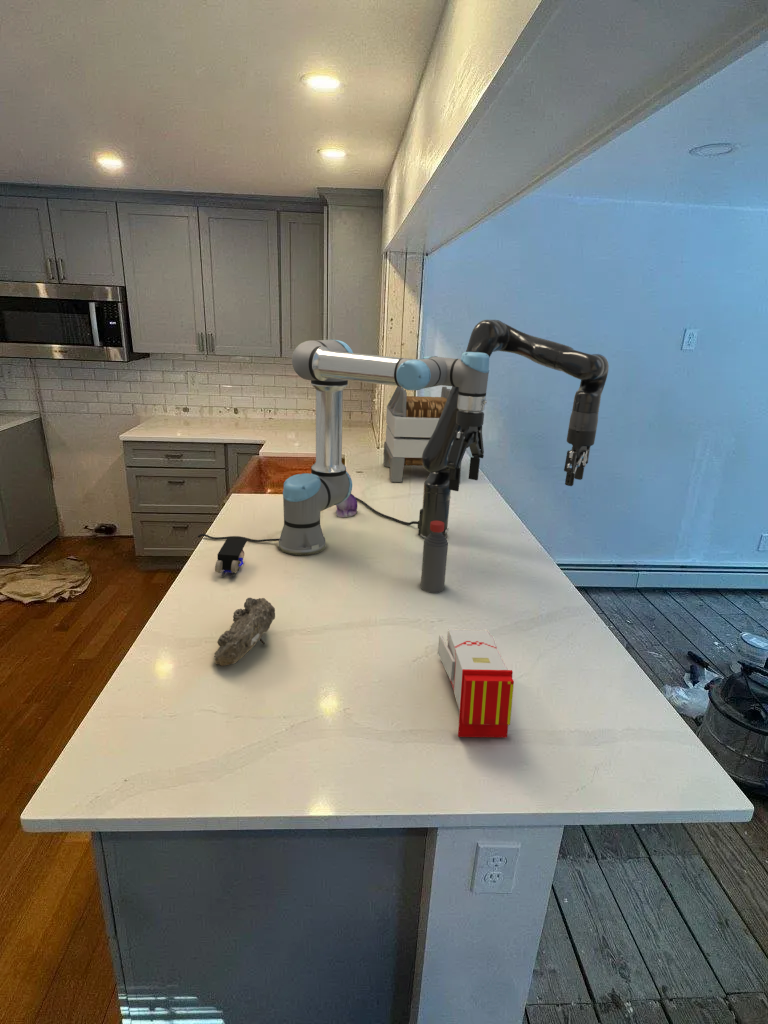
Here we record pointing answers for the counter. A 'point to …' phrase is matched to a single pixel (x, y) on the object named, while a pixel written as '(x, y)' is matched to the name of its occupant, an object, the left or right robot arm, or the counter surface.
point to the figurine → (347, 507)
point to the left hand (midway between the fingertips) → (463, 484)
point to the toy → (478, 682)
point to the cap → (437, 526)
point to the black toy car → (230, 556)
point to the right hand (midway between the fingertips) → (573, 482)
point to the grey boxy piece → (410, 429)
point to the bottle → (434, 562)
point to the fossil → (245, 630)
